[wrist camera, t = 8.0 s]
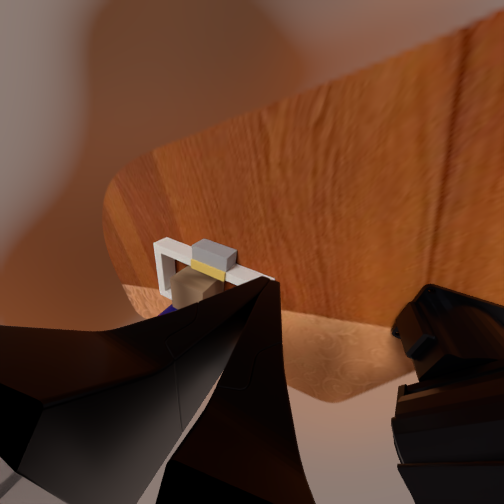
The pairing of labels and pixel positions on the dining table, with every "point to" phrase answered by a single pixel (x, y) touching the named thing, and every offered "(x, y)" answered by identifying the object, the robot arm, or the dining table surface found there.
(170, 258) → the white u-shaped frame
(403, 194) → the dining table surface
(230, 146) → the dining table surface
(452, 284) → the dining table surface
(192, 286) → the block
